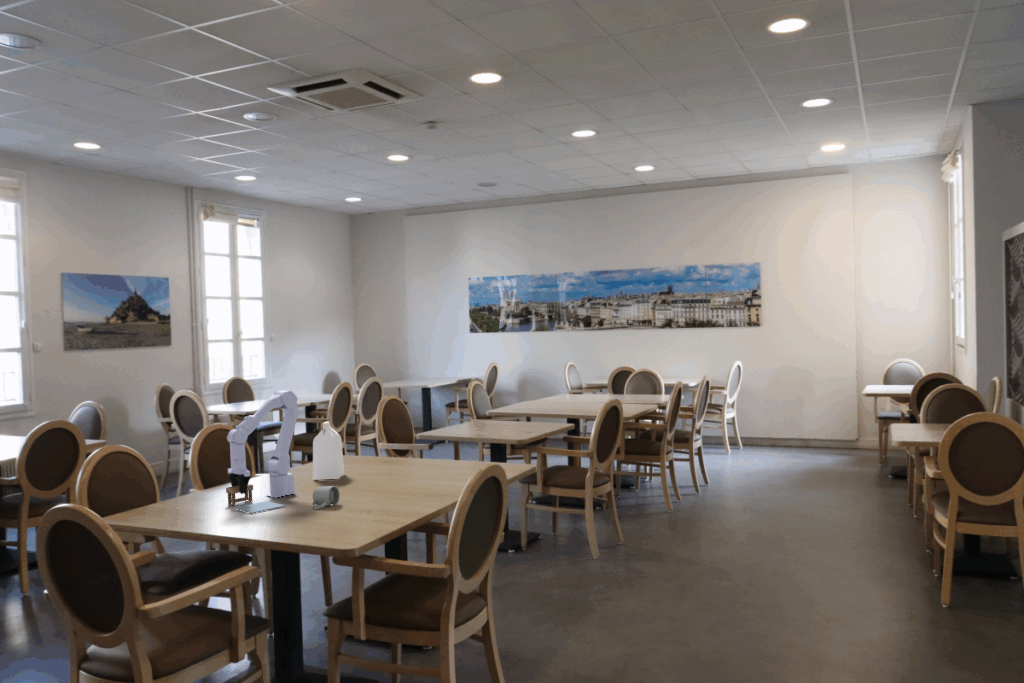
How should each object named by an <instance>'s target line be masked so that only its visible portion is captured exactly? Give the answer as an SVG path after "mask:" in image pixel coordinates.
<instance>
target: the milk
mask: <svg viewBox="0 0 1024 683" xmlns="http://www.w3.org/2000/svg"><path fill="white" fill-rule="evenodd" d="M342 443H343V442H342V436H341V435H340V433H338V432H337V431H336V429H334V428H333V427H332V426H331V422H330V421H325V422H322V429H321V430H320V431H319V432H318V434H317V435H316V436H315V437H314V439H313V441H312V480H313V479H338V478H339V477H341V476H342V475H343V474H344V475H345V466H344V455H343V444H342ZM344 475H343V476H344ZM343 476H342V477H343ZM342 477H341V478H342ZM339 479H340V478H339ZM339 479H338V480H339Z"/></svg>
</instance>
